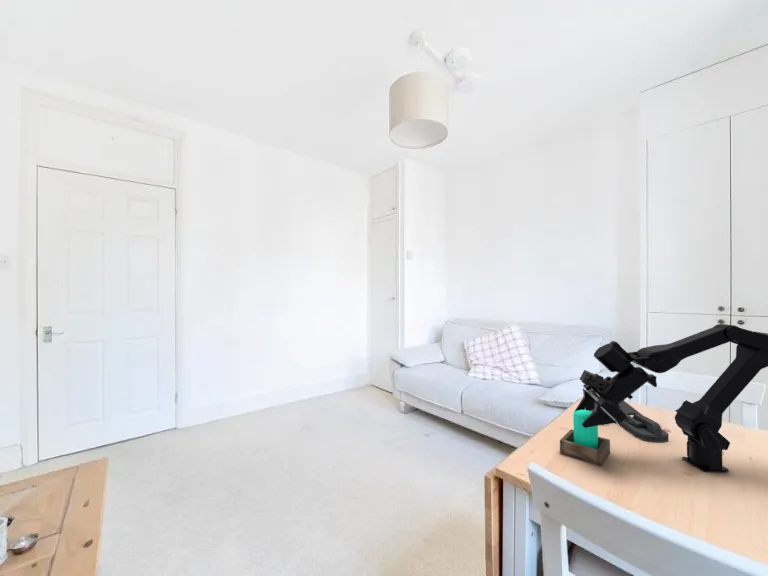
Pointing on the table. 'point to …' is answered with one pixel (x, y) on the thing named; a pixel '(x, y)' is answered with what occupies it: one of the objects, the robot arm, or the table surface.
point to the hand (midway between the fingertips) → (579, 419)
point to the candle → (584, 430)
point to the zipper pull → (642, 425)
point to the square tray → (585, 449)
